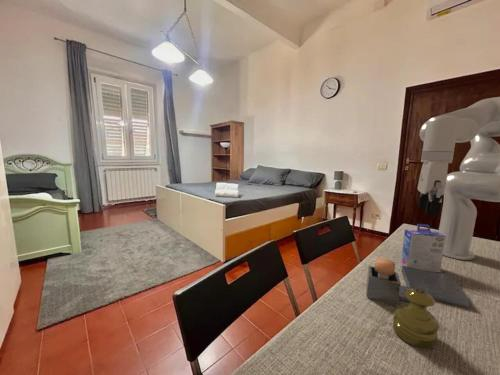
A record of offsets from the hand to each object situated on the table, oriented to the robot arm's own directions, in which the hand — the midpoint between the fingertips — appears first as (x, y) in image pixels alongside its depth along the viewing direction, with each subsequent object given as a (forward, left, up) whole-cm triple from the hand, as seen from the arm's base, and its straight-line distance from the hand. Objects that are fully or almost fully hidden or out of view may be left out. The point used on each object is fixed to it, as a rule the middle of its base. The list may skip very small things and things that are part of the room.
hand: (427, 211), depth 72 cm
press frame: (+17, -5, -19) cm, 26 cm away
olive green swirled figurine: (+36, -8, -20) cm, 41 cm away
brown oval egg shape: (+24, -13, -15) cm, 31 cm away
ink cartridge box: (0, 0, -20) cm, 20 cm away
